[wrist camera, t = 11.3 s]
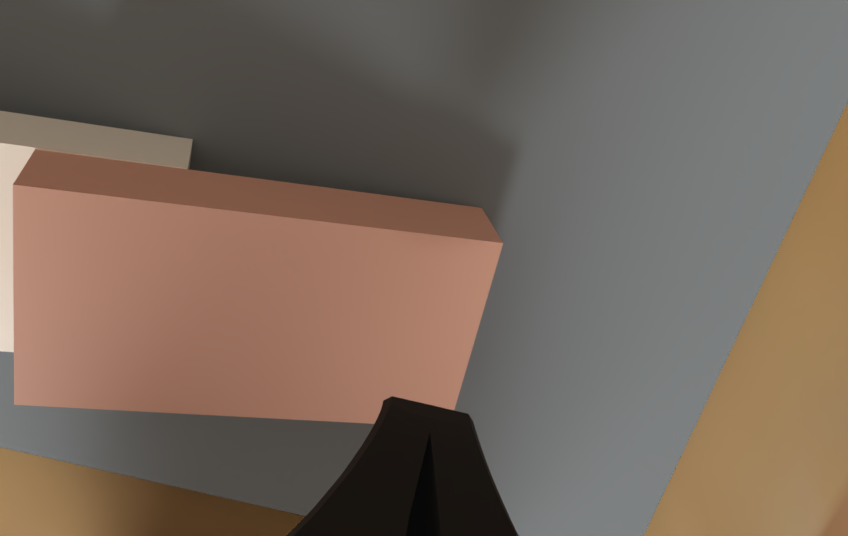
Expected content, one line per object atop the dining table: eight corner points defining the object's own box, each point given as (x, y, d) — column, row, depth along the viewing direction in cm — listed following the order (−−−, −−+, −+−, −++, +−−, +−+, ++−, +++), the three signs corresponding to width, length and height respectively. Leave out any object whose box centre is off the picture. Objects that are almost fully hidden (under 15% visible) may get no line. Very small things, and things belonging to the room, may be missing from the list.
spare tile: (449, 427, 17) (14, 404, 15) (434, 382, 18) (33, 354, 16) (502, 243, 15) (12, 184, 13) (482, 207, 17) (35, 148, 14)
